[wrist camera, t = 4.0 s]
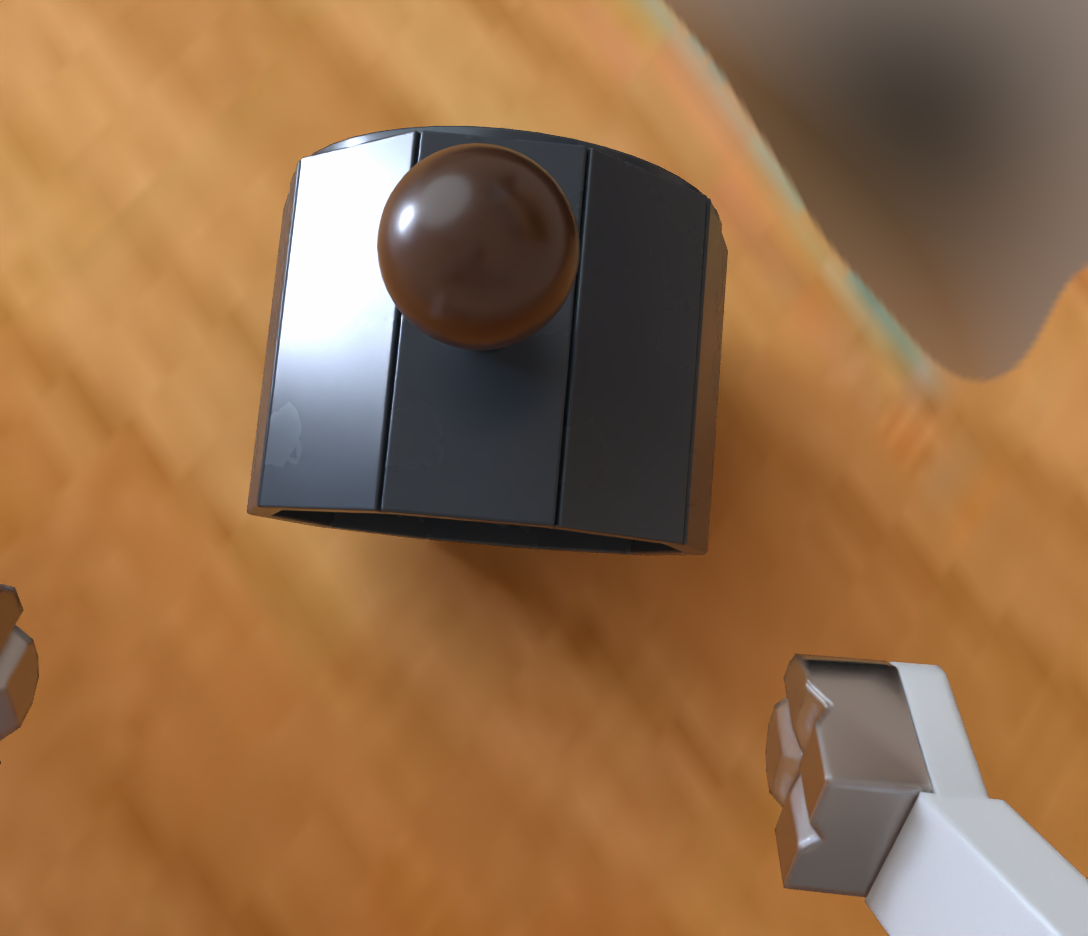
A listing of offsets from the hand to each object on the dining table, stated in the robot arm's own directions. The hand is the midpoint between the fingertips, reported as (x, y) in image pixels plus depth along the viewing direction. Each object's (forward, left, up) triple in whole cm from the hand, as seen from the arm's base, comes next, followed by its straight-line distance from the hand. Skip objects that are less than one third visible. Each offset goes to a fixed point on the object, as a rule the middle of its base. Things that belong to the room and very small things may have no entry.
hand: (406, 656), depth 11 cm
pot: (-5, +4, -20) cm, 21 cm away
